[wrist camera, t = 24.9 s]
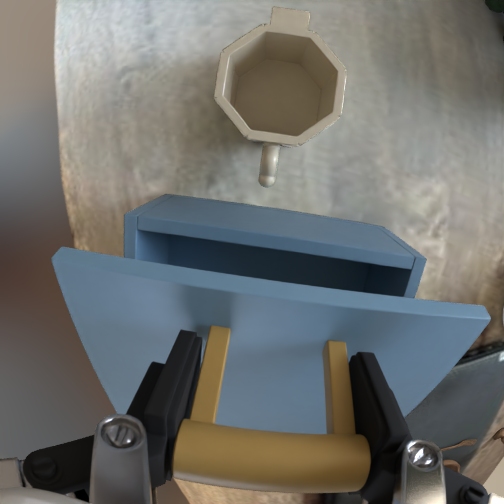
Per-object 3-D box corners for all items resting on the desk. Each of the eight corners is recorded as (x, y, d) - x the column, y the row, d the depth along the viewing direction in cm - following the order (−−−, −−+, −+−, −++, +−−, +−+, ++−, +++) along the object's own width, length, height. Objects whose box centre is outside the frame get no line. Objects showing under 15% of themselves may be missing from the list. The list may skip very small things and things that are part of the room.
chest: (165, 193, 23) (123, 213, 16) (384, 226, 23) (427, 258, 16) (161, 385, 28) (139, 439, 22) (327, 407, 28) (337, 463, 21)
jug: (239, 38, 19) (229, 2, 13) (331, 51, 19) (352, 21, 13) (219, 172, 22) (202, 181, 16) (312, 186, 22) (328, 199, 16)
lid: (61, 245, 10) (-32, 375, 5) (484, 305, 10) (537, 434, 5) (139, 438, 21) (122, 501, 16) (337, 463, 21) (338, 527, 16)
